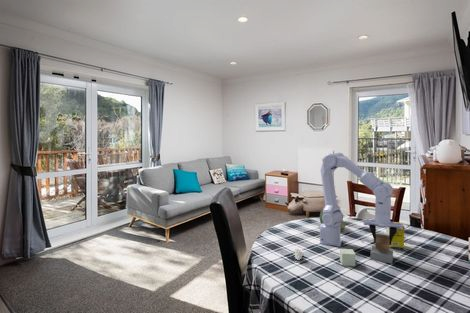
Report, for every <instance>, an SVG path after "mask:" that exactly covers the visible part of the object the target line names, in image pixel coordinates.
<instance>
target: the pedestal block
mask: <svg viewBox="0 0 470 313" xmlns="http://www.w3.org/2000/svg"><path fill="white" fill-rule="evenodd" d="M370 260H372V261H377V262H381V263H386V264H391V265H392V264H393V260H394V248H389V251H385V250H378V249H376V246H375V245H372V246H371V249H370Z"/></svg>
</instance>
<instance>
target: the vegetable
mask: <svg viewBox="0 0 470 313" xmlns="http://www.w3.org/2000/svg"><path fill="white" fill-rule="evenodd" d="M322 216H323V209H322V210H320V214H319V222H320V225H321V224H324V223H323V220H322ZM346 225H347V223H346V222H345V221H343V220H342V221H341V229H340V230H344V229H345V228H346Z"/></svg>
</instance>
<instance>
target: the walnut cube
mask: <svg viewBox="0 0 470 313" xmlns="http://www.w3.org/2000/svg"><path fill="white" fill-rule="evenodd" d="M389 243H390V239H389V235H386V234H381V233H376V243H374V244H375V245H374V246H376V249H378V250H385V251H389V249H390V247H389Z"/></svg>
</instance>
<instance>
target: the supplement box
mask: <svg viewBox="0 0 470 313" xmlns="http://www.w3.org/2000/svg"><path fill="white" fill-rule="evenodd" d="M394 222H395V223H401V222H399V221H397V222H396V221H394ZM385 229H386V230H385V235H389V227H385ZM389 249H393V250H394V249H395V250H397V249H398V250H404V249H405V225H403V230H402V229H398V228H397V232H396V234H395V235H394V237H393V239H392V242H391V245H389Z"/></svg>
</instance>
